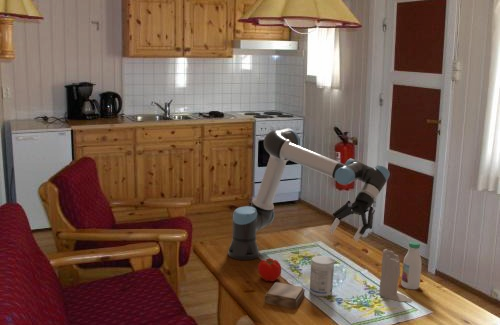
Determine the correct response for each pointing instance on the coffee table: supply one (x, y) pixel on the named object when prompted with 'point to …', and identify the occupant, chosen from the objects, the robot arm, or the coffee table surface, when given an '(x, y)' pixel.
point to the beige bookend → (391, 277)
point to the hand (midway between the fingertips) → (342, 235)
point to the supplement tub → (321, 275)
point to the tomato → (269, 269)
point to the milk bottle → (412, 267)
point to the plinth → (285, 295)
